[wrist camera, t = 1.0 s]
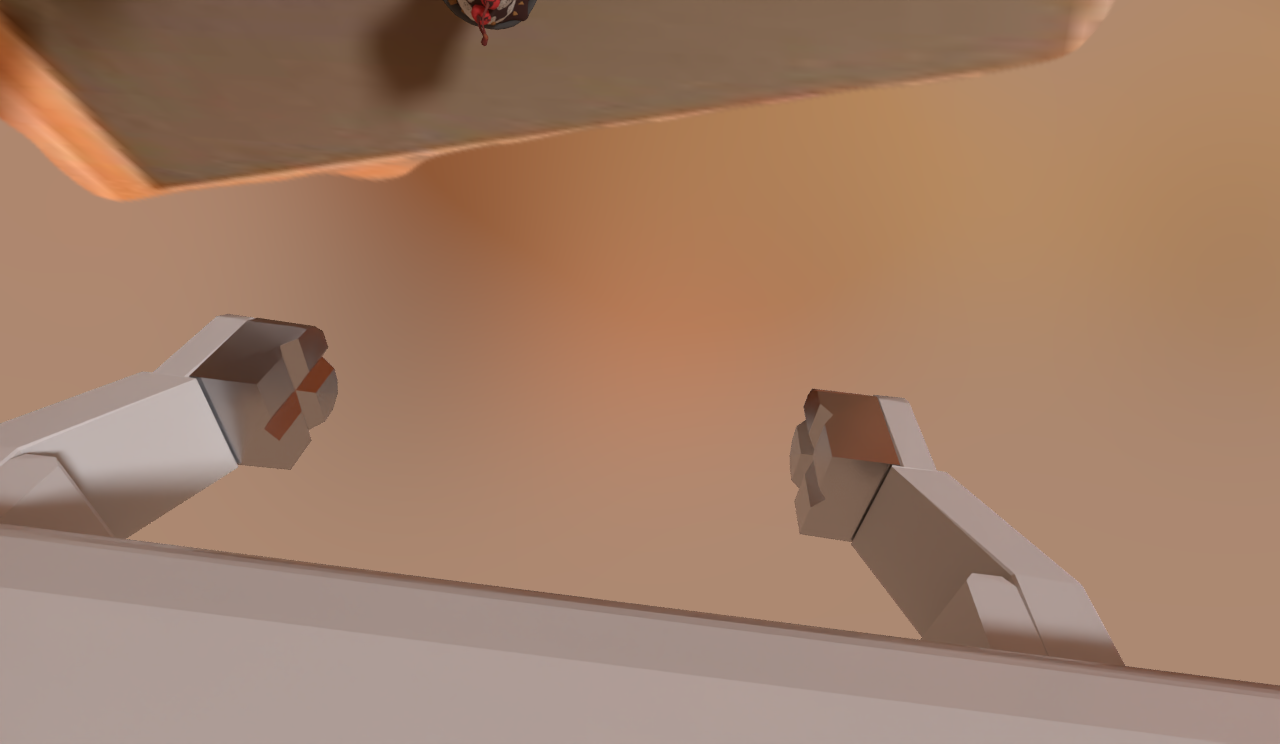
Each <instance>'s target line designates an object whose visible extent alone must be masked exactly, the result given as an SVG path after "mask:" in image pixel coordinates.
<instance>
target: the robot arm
mask: <svg viewBox="0 0 1280 744" xmlns="http://www.w3.org/2000/svg"><path fill="white" fill-rule="evenodd" d="M327 349H328V345H327V342H326V339H325V336H324V333H323V331H322V330H320V329H318V328H317V327H315V326H310V325H303V324H296V323H289V322H282V321H275V320H269V319H262V318H252V317H246V316H238V315H231V314H226V315H220V316H217V317H216V318H214V319H213V320H212V321H211V322H210V323H209V324H208V325H206V326H205V327H204V328H203V329H202V330H201V331H200V332H198V333H197V334H196V335H195V336H194V337H193V338H192V339H190V340H189V341H188V342H187V343H186V344H185V345H184V346H182V347H181V348H180V349H179V350H178V351H177V352H176V353H174V354H173V355H172V356H171V357H170V358H169V359H168V360H166V361H165V362H164V363H163V364H162V365H161V366H160V367H158V368H157V369H156V370H155V371H154V372H153V373H150V372H140V373H137V374H135V375H132V376H129V377H126V378H124V379H121V380H119V381H116V382H113V383H110V384H107V385H104V386H102V387H99V388H97V389H94V390H91V391H88V392H85V393H83V394H80V395H77V396H75V397H72V398H69V399H66V400H63V401H61V402H58V403H55V404H53V405H50V406H47V407H44V408H42V409H39V410H36V411H33V412H31V413H28V414H25V415H23V416H20V417H17V418H14V419H11V420H9V421H6V422H3V423H0V744H1280V685H1279V686H1278V685H1271V684H1263V683H1255V682H1248V681H1240V680H1231V679H1223V678H1215V677H1207V676H1199V675H1192V674H1184V673H1176V672H1168V671H1160V670H1151V669H1143V668H1135V667H1129V666H1125V664H1124V662H1123V661H1122V659H1121V657H1120V655H1119V653H1118V651H1117V649H1116V648H1115V646H1114V644H1113V642H1112V640H1111V638H1110V636H1109V635H1108V633H1107V631H1106V629H1105V627H1104V626H1103V623H1102V622H1101V620H1100V618H1099V616H1098V614H1097V612H1096V610H1095V608H1094V607H1093V605H1092V603H1091V601H1090V599H1089V597H1088V595H1087V594H1086V592H1085V590H1084V588H1083V586H1082V585H1081V584H1080V583H1079V582H1077V581H1076V580H1075V579H1074V578H1073V577H1072V576H1070V575H1069V574H1068V573H1067V572H1066V571H1064V570H1063V569H1062V568H1061V567H1060V566H1058V565H1057V564H1056V563H1055V562H1054V561H1052V560H1051V559H1050V558H1049V557H1048V556H1046V555H1045V554H1044V553H1043V552H1042V551H1040V550H1039V549H1038V548H1037V547H1036V546H1034V545H1033V544H1032V543H1031V542H1029V541H1028V540H1027V539H1026V538H1025V537H1023V536H1022V535H1021V534H1020V533H1019V532H1018V531H1016V530H1015V529H1014V528H1013V527H1012V526H1010V525H1009V524H1008V523H1007V522H1006V521H1004V520H1003V519H1002V518H1001V517H1000V516H998V515H997V514H996V513H995V512H993V511H992V510H991V509H990V508H989V507H987V506H986V505H985V504H984V503H983V502H981V501H980V500H979V499H978V498H977V497H975V496H974V495H973V494H972V493H971V492H969V491H968V490H967V489H966V488H965V487H963V486H962V485H961V484H960V483H959V482H957V481H956V480H955V479H954V478H953V477H951V476H950V475H949V474H948V473H947V472H941V471H937V470H936V468H935V465H934V462H933V460H932V458H931V455H930V453H929V450H928V448H927V445H926V443H925V440H924V438H923V436H922V433H921V431H920V428H919V426H918V423H917V421H916V419H915V416H914V414H913V411H912V409H911V406H910V404H909V402H908V401H907V400H906V399H905V398H898V397H888V396H879V395H873V396H870V395H861V394H853V393H845V392H837V391H827V390H820V389H812V390H811V391H810V393H809V394H808V396H807V399H806V401H805V405H804V412H805V417H806V420H805V421H804V422H802V423H801V424H799V425H798V426H797V427H796V430H795V433H794V436H793V440H792V445H791V452H790V472H791V480H792V481H793V482H794V483H795V484H796V485H797V487H798V488H799V491H798V494H797V496H796V499H795V507H796V514H797V520H798V526H799V533H800V534H804V535H810V536H816V537H823V538H829V539H836V540H843V541H849V542H852V543H851V545H852V546H853V547H854V549H855V550H856V551H857V553H858V554H859V555H860V557H861V558H862V559H863V560H864V562H865V563H866V564H867V566H868V567H869V568H870V570H872V572H873V574H874V575H875V576H876V578H877V579H878V580H879V581H880V583H881V584H882V585H883V587H884V588H885V589H886V591H887V592H888V593H889V595H890V596H891V597H892V598H893V600H894V601H895V602H896V604H897V605H898V606H899V608H900V609H901V610H902V611H903V613H904V614H905V616H906V617H907V618H908V619H909V621H910V622H911V623H912V625H913V626H914V627H915V629H916V630H917V631H918V633H919V634H920V635H921V637H922V638H921V640H916V639H908V638H901V637H892V636H884V635H877V634H869V633H862V632H854V631H845V630H837V629H830V628H822V627H814V626H806V625H799V624H791V623H783V622H774V621H767V620H759V619H752V618H744V617H736V616H727V615H720V614H712V613H704V612H696V611H688V610H680V609H672V608H664V607H657V606H648V605H641V604H633V603H625V602H617V601H609V600H601V599H593V598H585V597H577V596H569V595H562V594H553V593H545V592H538V591H530V590H522V589H514V588H506V587H499V586H490V585H483V584H475V583H467V582H459V581H451V580H443V579H435V578H427V577H420V576H412V575H404V574H396V573H388V572H380V571H373V570H365V569H357V568H349V567H341V566H333V565H326V564H317V563H310V562H301V561H294V560H286V559H278V558H270V557H263V556H255V555H247V554H239V553H231V552H222V551H214V550H207V549H199V548H192V547H184V546H175V545H167V544H160V543H152V542H144V541H136V540H128V539H126V538H128V537H129V536H131V535H132V534H134V533H136V532H137V531H139V530H140V529H142V528H143V527H145V526H146V525H148V524H150V523H151V522H153V521H154V520H156V519H158V518H159V517H161V516H162V515H164V514H165V513H167V512H168V511H170V510H172V509H173V508H175V507H176V506H178V505H179V504H181V503H183V502H184V501H186V500H187V499H189V498H191V497H192V496H194V495H195V494H197V493H198V492H200V491H201V490H203V489H205V488H206V487H208V486H209V485H211V484H213V483H214V482H216V481H217V480H219V479H220V478H222V477H224V476H225V475H227V474H228V473H230V472H231V471H233V470H235V469H236V468H237V467H238V465H247V466H257V467H267V468H277V469H288V470H291V468H292V467H293V466H294V464H295V463H296V461H297V460H298V458H299V457H300V456H301V454H302V453H303V452H304V450H305V449H306V447H307V446H308V445H309V443H310V442H311V437H310V432H309V429H311V428H313V427H315V426H317V425H319V424H321V423H323V422H325V420H326V419H327V417H328V416H329V414H330V413H331V411H332V410H333V407H334V404H335V401H336V397H337V394H338V386H337V377H336V373H335V369H334V368H333V367H332V366H331V365H330V364H329V363H328V362H327V361H326V360H325V359H324V358H323V357H322V356H323V355H324V353H325V352H326V350H327Z"/></svg>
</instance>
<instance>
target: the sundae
mask: <svg viewBox="0 0 1280 744" xmlns="http://www.w3.org/2000/svg"><path fill="white" fill-rule="evenodd" d="M443 1H444V2H445V4H446V5H447V6H448V7H449V8H450V10H451V11H452V12H453V13H454V14H455V15H457V16H458V17H460V18H461V19H463V20H464V21H466V22H468V23H470V24H472V25H475V26H478V27H479V29H480V31H481V33H482V35H483V38H482V41H481V43H482V45H483V46H486V45H487V41H488V36H487V34H486V32H485V29H484V28H487V29H496V30H499V29H506V28H509V27H513V26H515V25H517V24H518V23H520V22H521V21H525V20H526V19H527V18H528V16H529V13H530V12H531V10H532V9H533V7H534V5H535V3H536V1H537V0H443ZM481 27H482V28H483V30H482V28H481Z"/></svg>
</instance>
